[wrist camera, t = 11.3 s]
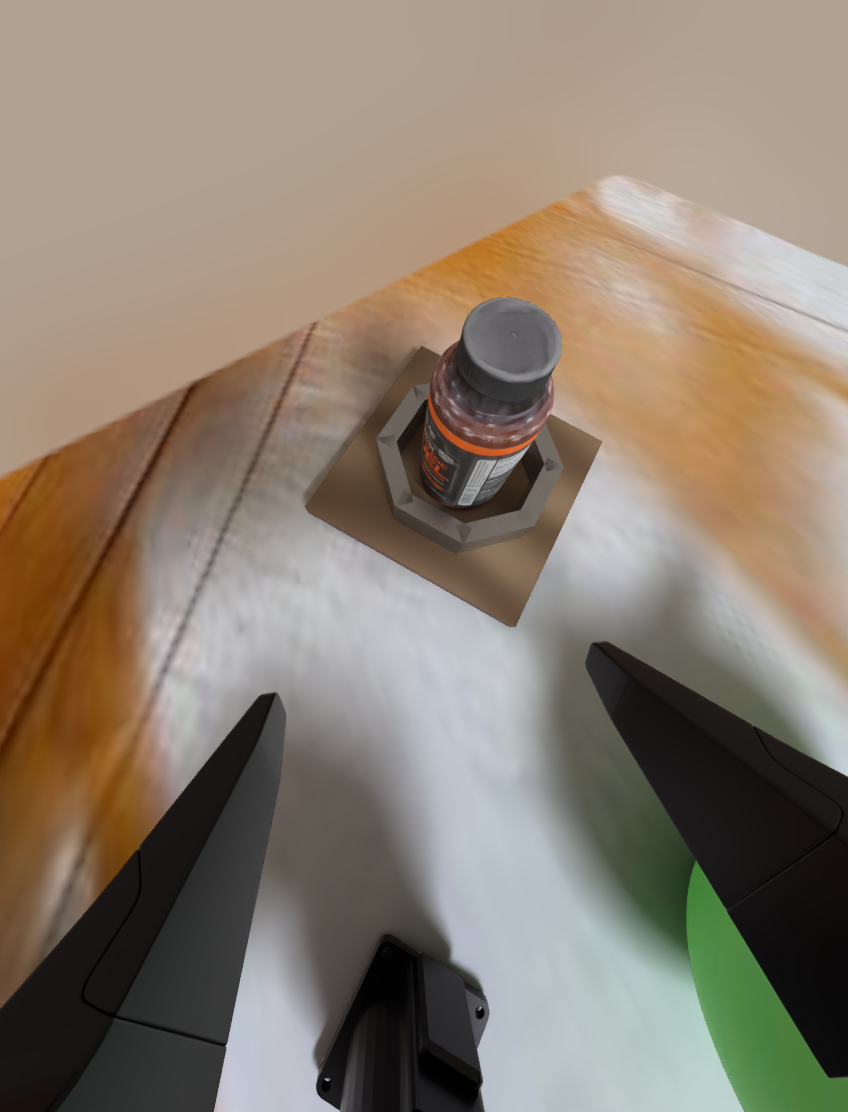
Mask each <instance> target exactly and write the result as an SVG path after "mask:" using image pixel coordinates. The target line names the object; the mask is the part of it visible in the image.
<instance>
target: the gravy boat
mask: <svg viewBox="0 0 848 1112" xmlns="http://www.w3.org/2000/svg"><path fill="white" fill-rule="evenodd" d="M686 928H687V942H688V950H689V957H690V964H691V969H692V974H693V979H694V983H695V987H696V991H697V995H698V998H699V1002H700V1005H701V1009H702V1012H703V1015H704V1018H705V1021H706V1024H707V1027H708V1030H709V1032H710V1035H711V1038H712V1040H713V1043H714V1046H715V1048H716V1051H717V1053H718V1056H719V1058H720V1060H721V1063H722V1065H723V1067H724V1070H725V1072H726V1074H727V1076H728V1079H729V1081H730V1083H731V1085H732V1087H733V1089H734V1091H735V1094H736V1096H737V1098H738V1100H739V1102H740V1104H741V1106H742V1108H743V1110H744V1112H848V1078H838V1079H829V1078H828V1077H827V1075H826V1074H825V1072H824V1071H823V1069H822V1068H821V1067H820V1065H819V1063H818V1062H817V1060H816V1059H815V1057H814V1055H813V1054H812V1052H811V1050H810V1049H809V1047H808V1045H807V1044H806V1042H805V1041H804V1039H803V1037H802V1036H801V1034H800V1032H799V1031H798V1029H797V1027H796V1026H795V1024H794V1022H793V1021H792V1019H791V1017H790V1016H789V1014H788V1012H787V1011H786V1009H785V1007H784V1006H783V1004H782V1002H781V1001H780V999H779V997H778V996H777V994H776V993H775V991H774V989H773V988H772V986H771V984H770V983H769V981H768V979H767V978H766V976H765V974H764V973H763V971H762V969H761V968H760V966H759V964H758V963H757V961H756V959H755V958H754V956H753V954H752V953H751V951H750V949H749V948H748V946H747V945H746V943H745V941H744V940H743V938H742V936H741V935H740V933H739V931H738V930H737V928H736V926H735V925H734V923H733V921H732V920H731V918H730V916H729V915H728V913H727V911H726V908H725V907H724V906H723V904H722V903H721V901H720V899H719V898H718V896H717V894H716V893H715V891H714V889H713V888H712V886H711V884H710V883H709V881H708V879H707V878H706V876H705V874H704V873H703V871H702V870H701V868H700V866H699V865H698V863H697V861H695V864H694V867H693V870H692V873H691V877H690V882H689V888H688V895H687V907H686Z"/></svg>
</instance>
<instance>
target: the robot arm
mask: <svg viewBox="0 0 848 1112" xmlns="http://www.w3.org/2000/svg"><path fill="white" fill-rule="evenodd" d="M585 664H586V669H587V671H588V673H589V675H590V677H591V679H592V682H593V684H594V686H595V688H596V690H597V692H598V694H599V696H600V698H601V700H602V702H603V704H604V706H605V709H606V711H607V713H608V714H609V716H610V718H611V720H612V722H613V724H614V725H615V727H616V729H617V730H618V732H619V734H620V735H621V737H622V739H623V740H624V742H625V744H626V745H627V747H628V749H629V750H630V752H631V754H632V755H633V757H634V759H635V760H636V762H637V763H638V765H639V767H640V768H641V770H642V772H643V773H644V775H645V777H646V778H647V780H648V782H649V783H650V785H651V787H652V788H653V790H654V792H655V793H656V795H657V797H658V798H659V800H660V802H661V803H662V805H663V807H664V808H665V810H666V812H667V813H668V815H669V816H670V818H671V820H672V821H673V823H674V825H675V826H676V828H677V830H678V831H679V833H680V835H681V836H682V838H683V840H684V841H685V843H686V845H687V846H688V848H689V850H690V851H691V853H692V855H693V856H694V858H695V860H696V861H697V863H698V865H699V866H700V868H701V870H702V871H703V873H704V874H705V876H706V878H707V879H708V881H709V883H710V884H711V886H712V888H713V889H714V891H715V893H716V894H717V896H718V898H719V899H720V901H721V903H722V904H723V906H724V907H725V908H726V911H727V913H728V915H729V916H730V918H731V920H732V921H733V923H734V925H735V926H736V928H737V930H738V931H739V933H740V935H741V936H742V938H743V940H744V941H745V943H746V945H747V946H748V948H749V949H750V951H751V953H752V954H753V956H754V958H755V959H756V961H757V963H758V964H759V966H760V968H761V969H762V971H763V973H764V974H765V976H766V978H767V979H768V981H769V983H770V984H771V986H772V988H773V989H774V991H775V993H776V994H777V996H778V997H779V999H780V1001H781V1002H782V1004H783V1006H784V1007H785V1009H786V1011H787V1012H788V1014H789V1016H790V1017H791V1019H792V1021H793V1022H794V1024H795V1026H796V1027H797V1029H798V1031H799V1032H800V1034H801V1036H802V1037H803V1039H804V1041H805V1042H806V1044H807V1045H808V1047H809V1049H810V1050H811V1052H812V1054H813V1055H814V1057H815V1059H816V1060H817V1062H818V1063H819V1065H820V1067H821V1068H822V1069H823V1071H824V1072H825V1074H826V1075H827V1077H828V1078H829V1079H838V1078H848V776H846V775H844V774H842V773H840V772H838V771H836V770H834V769H832V768H830V767H828V766H826V765H824V764H823V763H821V762H819V761H817V760H815V759H813V758H811V757H809V756H807V755H805V754H804V753H802V752H800V751H798V750H796V749H795V748H793V747H791V746H789V745H787V744H786V743H784V742H782V741H780V740H778V739H777V738H775V737H773V736H771V735H769V734H768V733H766V732H764V731H763V730H761V729H759V728H757V727H755V726H752V725H751V724H750V723H748V722H747V721H745V720H743V719H741V718H740V717H738V716H736V715H734V714H733V713H731V712H729V711H727V710H726V709H724V708H722V707H720V706H719V705H717V704H715V703H714V702H712V701H710V700H708V699H707V698H705V697H703V696H701V695H700V694H698V693H696V692H694V691H693V690H691V689H689V688H687V687H686V686H684V685H682V684H680V683H679V682H677V681H675V680H673V679H672V678H670V677H668V676H666V675H665V674H663V673H661V672H659V671H658V670H656V669H654V668H653V667H651V666H649V665H647V664H646V663H644V662H642V661H640V660H639V659H637V658H635V657H633V656H632V655H630V654H628V653H626V652H625V651H623V650H621V649H619V648H618V647H616V646H614V645H612V644H611V643H609V642H606V641H600V642H594V643H592V644H591V645H590V648H589V651H588V655H587V658H586V662H585ZM285 724H286V712H285V709H284V707H283V704H282V702H281V699H280V697H279V695H278V693H276V692H273V693H266V694H262V695H260V696H259V697H258V698H257V699H256V700H255V702H254V703H253V704H252V706H251V707H250V708H249V709H248V711H247V712H246V713H245V714H244V716H243V717H242V718H241V719H240V721H239V722H238V723H237V724H236V726H235V727H234V728H233V729H232V731H231V732H230V733H229V734H228V736H227V737H226V738H225V739H224V741H223V742H222V743H221V744H220V746H219V747H218V748H217V749H216V751H215V752H214V753H213V754H212V756H211V757H210V758H209V760H208V761H207V762H206V763H205V765H204V766H203V767H202V768H201V770H200V771H199V772H198V773H197V775H196V776H195V777H194V778H193V780H192V781H191V782H190V783H189V785H188V786H187V787H186V788H185V790H184V791H183V792H182V793H181V795H180V796H179V797H178V798H177V800H176V801H175V802H174V803H173V805H172V806H171V807H170V808H169V810H168V811H167V812H166V813H165V815H164V816H163V817H162V819H161V820H160V821H159V822H158V824H157V825H156V826H155V827H154V829H153V830H152V831H151V832H150V834H149V835H148V836H147V837H146V839H145V840H144V841H143V842H142V844H141V845H140V850H139V849H138V850H136V851H135V852H134V853H133V855H132V856H131V857H130V858H129V860H128V861H127V862H126V864H125V865H124V866H123V867H122V869H121V870H120V871H119V872H118V874H117V875H116V876H115V877H114V878H113V880H112V881H111V882H110V883H109V884H108V886H107V887H106V888H105V889H104V891H103V892H102V893H101V894H100V895H99V897H98V898H97V899H96V900H95V902H94V903H93V904H92V905H91V906H90V908H89V909H88V910H87V911H86V912H85V913H84V914H83V916H82V917H81V918H80V919H79V920H78V921H77V923H76V924H75V925H74V926H73V927H72V928H71V929H70V931H69V932H68V933H67V934H66V935H65V936H64V938H63V939H62V940H61V941H60V942H59V943H58V944H57V946H56V947H55V948H54V949H53V950H52V951H51V952H50V953H49V955H48V956H47V957H46V958H45V959H44V960H43V961H42V962H41V964H40V965H39V966H38V967H37V968H36V969H35V970H34V971H33V973H32V974H31V975H30V976H29V977H28V978H27V979H26V980H25V982H24V983H23V984H22V985H21V986H20V987H19V988H18V989H17V991H16V992H15V993H14V994H13V995H12V996H11V997H10V998H9V1000H8V1001H7V1002H6V1003H5V1004H4V1005H3V1006H2V1007H1V1009H0V1112H214V1108H215V1103H216V1098H217V1093H218V1088H219V1083H220V1078H221V1073H222V1068H223V1063H224V1058H225V1053H226V1044H227V1042H228V1037H229V1032H230V1027H231V1022H232V1017H233V1012H234V1007H235V1002H236V997H237V992H238V987H239V982H240V977H241V972H242V967H243V962H244V958H245V953H246V948H247V943H248V938H249V933H250V928H251V923H252V918H253V913H254V908H255V903H256V898H257V893H258V888H259V883H260V878H261V873H262V868H263V863H264V858H265V853H266V848H267V843H268V838H269V833H270V828H271V824H272V819H273V814H274V809H275V804H276V799H277V794H278V788H279V783H280V775H281V766H282V755H283V745H284V734H285ZM385 947H389V948H390V949H391V950H390V951H389V952H384V951H383V949H384V948H385ZM479 1006H481V1007H482V1008H481V1010H479V1011H477V1010H476V1008H477V1007H479ZM488 1018H489V1007H488V1003H487V999H486V997H485V995H484V994H483V993H481V992H480V991H478V990H477V989H475V988H473V987H472V986H470V985H469V984H467V983H466V982H464V981H463V978H462V977H461V976H459V975H458V974H456V973H455V972H453V971H451V970H450V969H448V968H447V967H445V966H444V965H442V964H440V963H439V962H437V961H436V960H434V959H433V958H431V957H429V956H428V955H426V954H425V953H418V952H417V951H415V950H414V949H412V948H411V947H409V946H407V945H406V944H404V943H403V942H401V941H400V940H398V939H396V938H395V937H393V936H392V935H389V934H387V935H384V936H382V937H381V938H380V940H379V941H378V943H377V946H376V948H375V950H374V952H373V954H372V956H371V958H370V961H369V963H368V965H367V967H366V969H365V971H364V974H363V976H362V978H361V980H360V982H359V984H358V987H357V989H356V991H355V993H354V995H353V997H352V1000H351V1002H350V1004H349V1006H348V1008H347V1010H346V1013H345V1015H344V1017H343V1019H342V1021H341V1023H340V1026H339V1028H338V1030H337V1032H336V1034H335V1036H334V1039H333V1041H332V1043H331V1045H330V1047H329V1049H328V1052H327V1054H326V1056H325V1058H324V1060H323V1062H322V1064H321V1067H320V1069H319V1073H318V1078H317V1083H316V1090H317V1093H318V1095H319V1096H320V1097H321V1098H322V1099H323V1100H325V1101H326V1102H328V1103H329V1104H331V1105H332V1106H334V1107H335V1108H337V1109H338V1110H340V1112H485V1111H484V1105H483V1100H482V1094H481V1086H482V1084H483V1077H482V1072H481V1067H480V1062H479V1057H478V1051H477V1048H478V1045H479V1043H480V1040H481V1037H482V1034H483V1032H484V1029H485V1026H486V1024H487V1021H488ZM327 1077H328V1078H330V1079H331V1080H330V1081H326V1080H325V1078H327Z"/></svg>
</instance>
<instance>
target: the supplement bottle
mask: <svg viewBox="0 0 848 1112" xmlns="http://www.w3.org/2000/svg"><path fill="white" fill-rule="evenodd" d="M561 350H562V337H561V334H560V331H559V329H558V327H557V325H556V323H555V321H553V320H552V319H551V317H550V316H549V315H548V314H547V313H546V312H545V311H544V310H542V309H541V308H539V307H538V306H537V305H534V304H532V303H530V302H528V301H523V300H522V299H518V298H510V297H506V298H501V297H499V298H495V299H491V300H488V301H486V302H483V303H482V304H479V305H478V306H477V307H476V308H474V309H473V310H472V311H471V313H470V314H469V315H468V316H467V318H466V321H465V323H464V326H463V329H462V334H461V338H460V340H459V341H457V342H456V343H454V344H453V345H452V346H450V347H449V348H448V349H447V350H446V351H445V352H444V353H443V355H442V356H441V357H440V359H439V360H438V362H437V364H436V366H435V368H434V371H433V375H432V378H431V382H430V389H429V396H428V403H427V410H426V418H425V426H424V434H423V441H422V447H421V456H420V476H421V480H422V483H423V485H424V487H425V489H426V490H427V492H428V493H429V494H430V495H431V496H432V497H433V498H434V499H435V500H436V501H438V502H439V503H441V504H443V505H444V506H446V507H450V508H453V509H463V510H466V509H473V508H476V507H479V506H481V505H483V504H485V503H486V502H488V501H489V500H490V499H491V498H492V497H493V496H494V495H495V494H496V493H497V492H498V490H499V489H500V487H501V486H502V485H503V483H504V482H505V480H506V479H507V477H508V476H509V475H510V473H511V472H512V470H513V469H514V468H515V466H516V465H517V464H518V462H519V460H520V459H521V458H522V456H523V455H524V453H525V452H526V451H527V449H528V448H529V446H530V445H531V443H532V442H533V441H534V439H535V438H536V436H537V435H538V433H539V432H540V431H541V429H542V428H543V426H544V425H545V423H546V421H547V419H548V417H549V415H550V413H551V410H552V407H553V402H554V386H553V380H552V376H551V373H552V372H553V370H554V368H555V367H556V365H557V363H558V361H559V358H560V356H561Z"/></svg>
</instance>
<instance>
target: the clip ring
mask: <svg viewBox="0 0 848 1112" xmlns="http://www.w3.org/2000/svg"><path fill="white" fill-rule="evenodd" d="M429 389H430V383H428V384H422V385H417V386H412V388H411V390H410V391H409V392H408V394H407V395H406V397H405V398H404V400H403V401H402V402H401V404H400V405H399V407H398V408H397V410H396V411H395V412H394V414H393V415H392V417H391V418H390V420H389V421H388V422H387V424H386V425H385V427H384V428H383V430H382V431H381V432H380V434H379V435H378V437H377V438H376V446H377V455H378V460H379V464H380V467H381V471H382V475H383V478H384V482H385V486H386V489H387V493H388V497H389V500H390V504H391V508H392V511H393V515H394V520H395V521H397V522H399V523H401V524H403V525H405V526H406V527H408V528H410V529H412V530H413V531H415V532H417V533H419V534H421V535H422V536H424V537H426V538H428V539H429V540H431V541H433V542H435V543H437V544H438V545H440V546H442V547H444V548H445V549H447V550H449V551H451V552H453V553H454V554H458V553H462V552H466V551H470V550H474V549H478V548H482V547H486V546H490V545H494V544H497V543H501V542H505V541H509V540H513V539H517V538H521V537H522V536H523V535H524V534H526V533H527V532H528V531H529V530H530V529H532V528H533V527H534V526H535V524H536V522H537V520H538V518H539V516H540V514H541V512H542V510H543V508H544V506H545V504H546V502H547V500H548V498H549V496H550V494H551V492H552V490H553V488H554V486H555V484H556V482H557V480H558V478H559V476H560V474H561V472H562V470H563V468H564V466H563V464H562V462H561V459H560V457H559V454H558V452H557V449H556V447H555V444H554V442H553V440H552V437H551V435H550V432H549V430H548V427H547V425H546V423H545V425H544V426H543V428H542V429H541V431H540V432H539V433H538V435H537V436H536V438H535V439H534V441H533V442H532V443H531V445H530V446H529V448H528V449H527V451H526V452H525V453H524V455H523V456H522V458H521V461H522V463H523V466H524V469H525V471H526V474H527V476H528V479H529V484H528V486H527V488H526V490H525V492H524V493H523V495H522V497H521V499H520V501H519V503H518V505H517V507H516V509H515V511H514V512H510V513H506V514H502V515H498V516H494V517H490V518H486V519H482V520H478V521H474V522H469V523H463V522H461V521H459V520H457V519H456V518H454V517H452V516H450V515H448V514H447V513H445V512H443V511H441V510H439V509H438V508H436V507H434V506H432V505H430V504H429V503H427V502H425V501H423V500H421V499H420V498H418V497H416V496H414V495H412V493H411V490H410V487H409V483H408V480H407V476H406V473H405V469H404V466H403V463H402V459H401V454H402V453H403V451H404V450H405V448H406V447H407V445H408V444H409V442H410V441H411V439H412V438H413V436H414V435H415V433H416V432H417V430H418V429H419V427H420V426H421V424H422V423H425V418H426V410H427V403H428V396H429Z"/></svg>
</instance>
